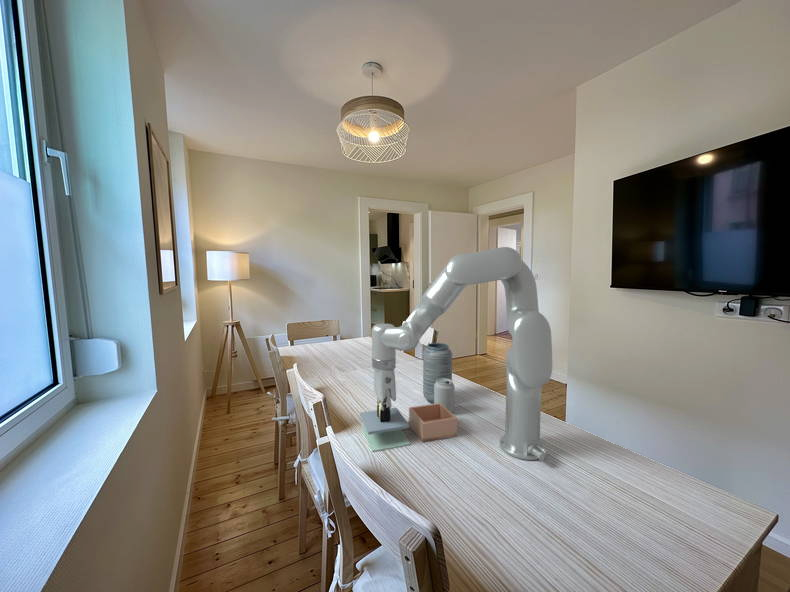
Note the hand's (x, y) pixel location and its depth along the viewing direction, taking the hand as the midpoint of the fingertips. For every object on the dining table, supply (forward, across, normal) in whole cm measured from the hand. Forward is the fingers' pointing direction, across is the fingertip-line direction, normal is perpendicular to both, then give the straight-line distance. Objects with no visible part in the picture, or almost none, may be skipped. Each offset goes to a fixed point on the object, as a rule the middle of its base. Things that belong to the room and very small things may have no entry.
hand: (383, 418), depth 99 cm
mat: (+6, 0, 0) cm, 6 cm away
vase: (+6, +19, -28) cm, 34 cm away
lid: (+1, 0, 0) cm, 1 cm away
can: (+6, +9, -26) cm, 28 cm away
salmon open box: (+5, -2, -16) cm, 17 cm away
